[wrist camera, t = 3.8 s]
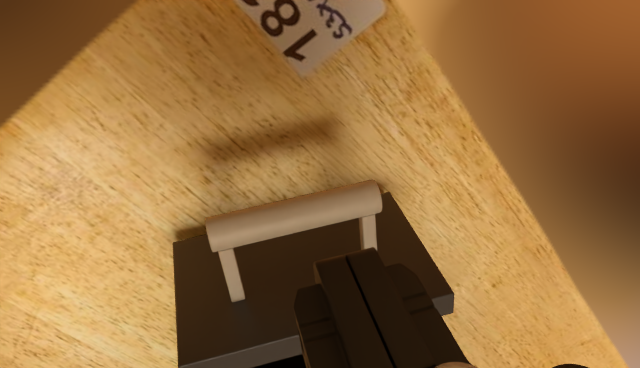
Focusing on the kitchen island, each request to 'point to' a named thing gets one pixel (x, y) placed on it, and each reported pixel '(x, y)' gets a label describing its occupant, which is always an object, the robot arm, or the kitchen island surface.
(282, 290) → the drawer
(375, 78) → the kitchen island surface
